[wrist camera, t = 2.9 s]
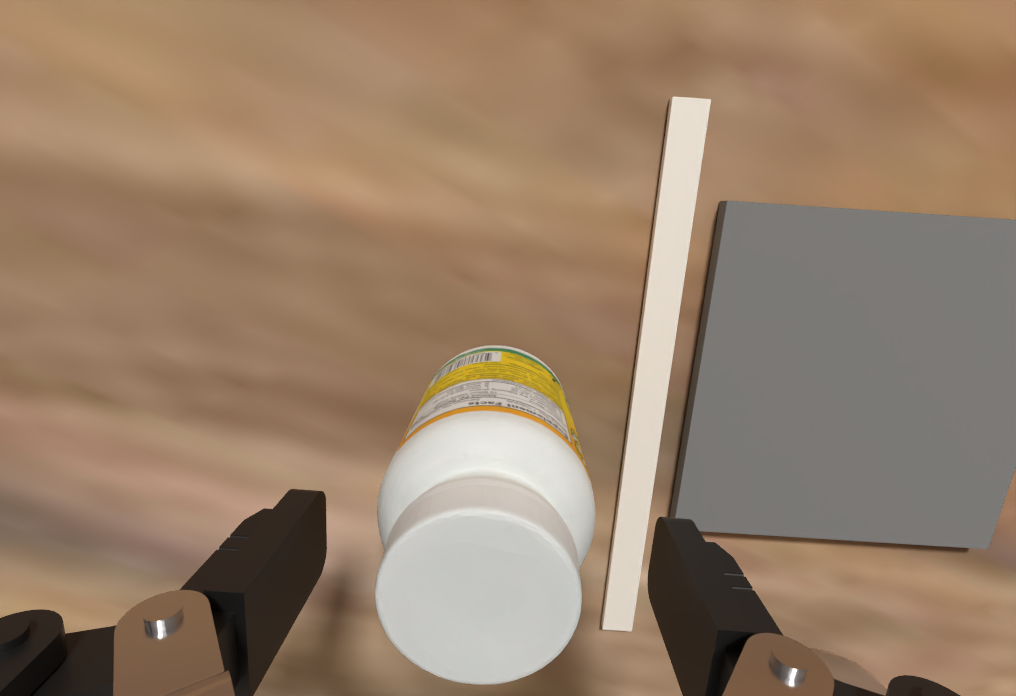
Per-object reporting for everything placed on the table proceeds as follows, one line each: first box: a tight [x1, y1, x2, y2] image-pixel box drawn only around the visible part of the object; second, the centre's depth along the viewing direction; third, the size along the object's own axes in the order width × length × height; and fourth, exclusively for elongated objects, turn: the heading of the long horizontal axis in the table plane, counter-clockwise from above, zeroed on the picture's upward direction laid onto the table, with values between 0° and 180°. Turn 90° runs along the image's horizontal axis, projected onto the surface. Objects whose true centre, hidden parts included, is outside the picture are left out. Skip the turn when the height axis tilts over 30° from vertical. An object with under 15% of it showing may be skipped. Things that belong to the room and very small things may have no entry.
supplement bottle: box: [375, 346, 595, 685], centre depth 14 cm, size 5×5×10 cm
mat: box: [669, 201, 1016, 549], centre depth 18 cm, size 12×12×1 cm
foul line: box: [601, 97, 711, 631], centre depth 19 cm, size 20×1×1 cm, turn 176°
